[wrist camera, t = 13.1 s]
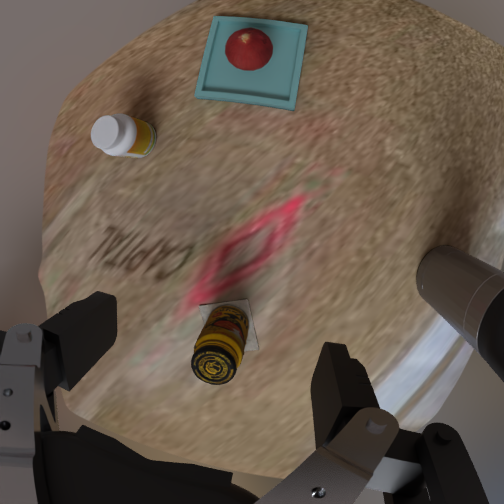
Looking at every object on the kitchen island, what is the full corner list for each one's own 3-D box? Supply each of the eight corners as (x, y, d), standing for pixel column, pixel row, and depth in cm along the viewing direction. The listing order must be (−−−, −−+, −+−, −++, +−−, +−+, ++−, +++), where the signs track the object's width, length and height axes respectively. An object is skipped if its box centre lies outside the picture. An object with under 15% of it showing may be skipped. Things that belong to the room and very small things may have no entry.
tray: (307, 30, 33) (307, 25, 31) (294, 111, 36) (294, 108, 34) (216, 21, 33) (213, 16, 32) (197, 98, 37) (194, 95, 35)
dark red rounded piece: (240, 37, 33) (231, 9, 26) (280, 49, 33) (279, 22, 26) (223, 71, 35) (210, 48, 27) (263, 84, 35) (259, 62, 27)
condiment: (247, 298, 43) (235, 340, 31) (259, 348, 44) (251, 399, 33) (199, 305, 43) (172, 346, 32) (213, 353, 45) (194, 402, 34)
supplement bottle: (152, 115, 38) (118, 101, 28) (161, 150, 39) (128, 143, 29) (120, 130, 38) (82, 121, 29) (128, 163, 40) (90, 161, 30)
